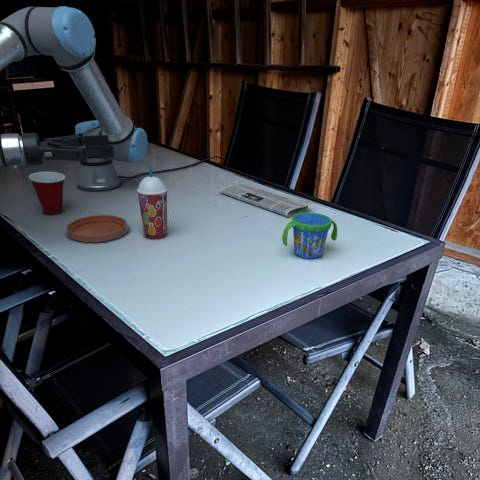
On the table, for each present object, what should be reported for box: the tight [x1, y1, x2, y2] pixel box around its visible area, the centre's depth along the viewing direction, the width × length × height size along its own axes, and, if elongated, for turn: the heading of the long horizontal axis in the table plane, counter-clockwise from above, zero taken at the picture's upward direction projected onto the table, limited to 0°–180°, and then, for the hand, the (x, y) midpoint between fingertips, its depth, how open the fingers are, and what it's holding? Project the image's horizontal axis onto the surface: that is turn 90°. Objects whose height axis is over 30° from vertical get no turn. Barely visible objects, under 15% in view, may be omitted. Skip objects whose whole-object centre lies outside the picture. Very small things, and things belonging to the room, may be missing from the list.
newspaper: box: [219, 183, 313, 218], centre depth 168 cm, size 35×12×4 cm, turn 43°
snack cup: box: [281, 212, 338, 260], centre depth 128 cm, size 16×10×10 cm
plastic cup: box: [28, 171, 66, 216], centre depth 152 cm, size 11×11×12 cm
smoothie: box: [136, 165, 168, 240], centre depth 135 cm, size 8×8×20 cm
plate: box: [66, 214, 129, 243], centre depth 141 cm, size 17×17×2 cm
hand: (111, 145), depth 124 cm, fingers open, 13 cm apart
